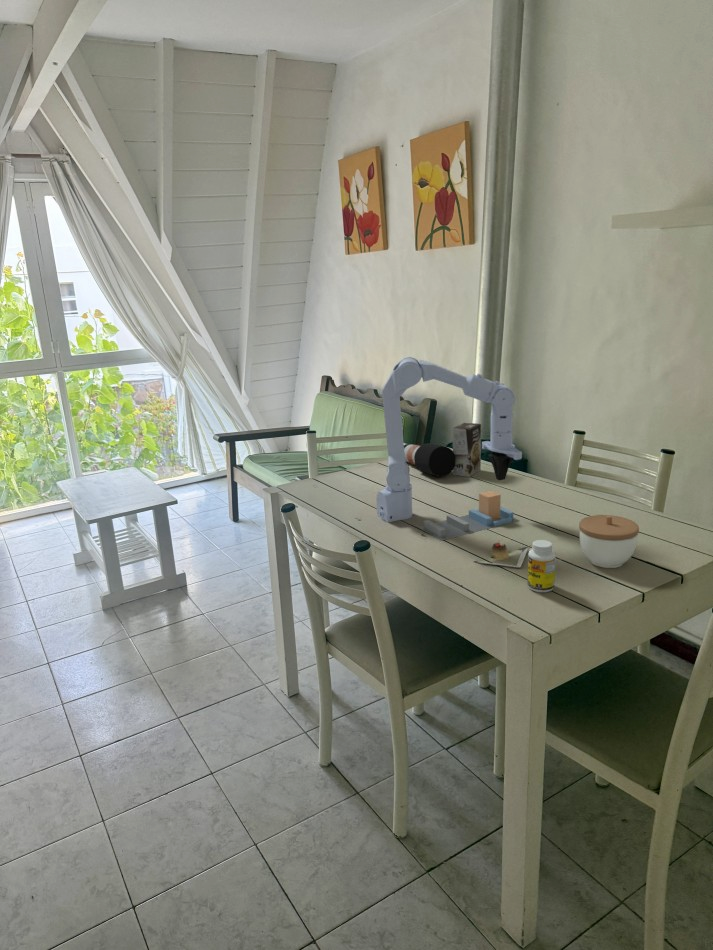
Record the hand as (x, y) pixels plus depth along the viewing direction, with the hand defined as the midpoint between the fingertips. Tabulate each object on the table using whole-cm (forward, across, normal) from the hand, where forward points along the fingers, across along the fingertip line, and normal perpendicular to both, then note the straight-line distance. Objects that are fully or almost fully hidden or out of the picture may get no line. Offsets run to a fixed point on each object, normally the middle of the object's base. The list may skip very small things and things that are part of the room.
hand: (500, 479), depth 181 cm
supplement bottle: (+11, -39, +20) cm, 45 cm away
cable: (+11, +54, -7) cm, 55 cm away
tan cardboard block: (+10, -2, +5) cm, 11 cm away
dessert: (+11, -21, +17) cm, 29 cm away
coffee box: (+11, +38, -16) cm, 43 cm away
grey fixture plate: (+10, -2, +12) cm, 16 cm away
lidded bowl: (+11, -37, -1) cm, 38 cm away
